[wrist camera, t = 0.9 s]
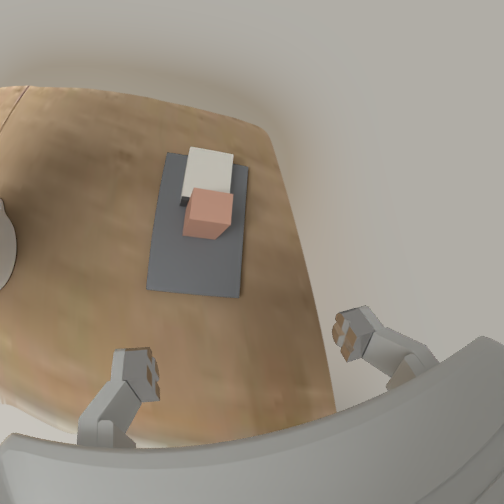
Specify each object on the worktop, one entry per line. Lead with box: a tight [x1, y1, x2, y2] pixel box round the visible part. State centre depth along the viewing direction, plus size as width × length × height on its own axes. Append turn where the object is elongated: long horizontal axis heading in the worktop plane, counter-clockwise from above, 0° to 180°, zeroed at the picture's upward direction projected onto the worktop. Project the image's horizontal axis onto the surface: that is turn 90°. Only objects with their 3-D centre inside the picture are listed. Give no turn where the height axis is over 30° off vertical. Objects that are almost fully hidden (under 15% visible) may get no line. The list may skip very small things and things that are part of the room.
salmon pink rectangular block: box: [182, 188, 233, 240], centre depth 36 cm, size 5×4×9 cm
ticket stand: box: [146, 147, 248, 298], centre depth 40 cm, size 14×22×5 cm, turn 177°
